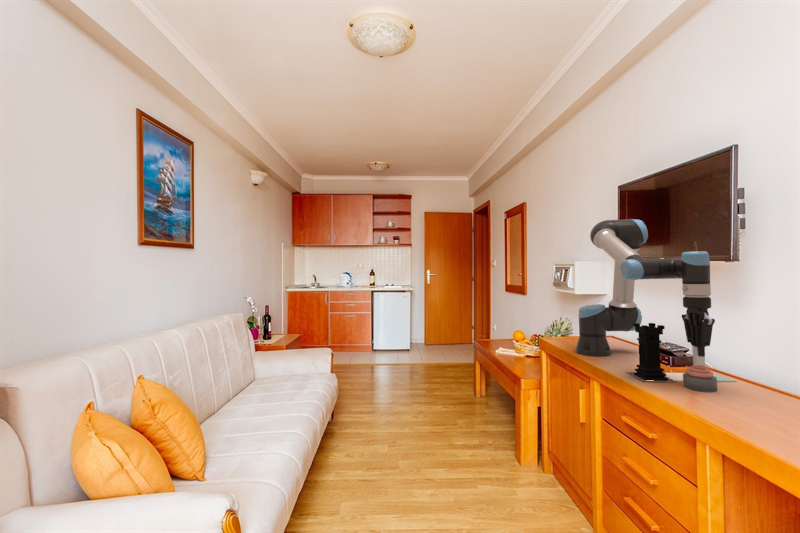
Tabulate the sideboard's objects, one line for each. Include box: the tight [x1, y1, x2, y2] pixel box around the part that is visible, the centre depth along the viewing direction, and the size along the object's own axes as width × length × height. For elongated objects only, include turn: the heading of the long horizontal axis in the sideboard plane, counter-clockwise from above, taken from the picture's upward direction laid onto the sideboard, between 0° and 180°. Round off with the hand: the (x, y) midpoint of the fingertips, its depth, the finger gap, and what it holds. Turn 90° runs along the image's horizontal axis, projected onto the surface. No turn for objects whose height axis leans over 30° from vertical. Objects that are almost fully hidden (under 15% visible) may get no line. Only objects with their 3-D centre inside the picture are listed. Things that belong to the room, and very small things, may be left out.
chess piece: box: [632, 322, 669, 381], centre depth 138 cm, size 8×8×20 cm
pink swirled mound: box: [685, 364, 714, 378], centre depth 125 cm, size 7×7×3 cm
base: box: [682, 372, 718, 393], centre depth 125 cm, size 9×9×4 cm
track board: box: [625, 371, 737, 383], centre depth 137 cm, size 12×32×1 cm, turn 83°
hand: (699, 365), depth 125 cm, fingers closed
